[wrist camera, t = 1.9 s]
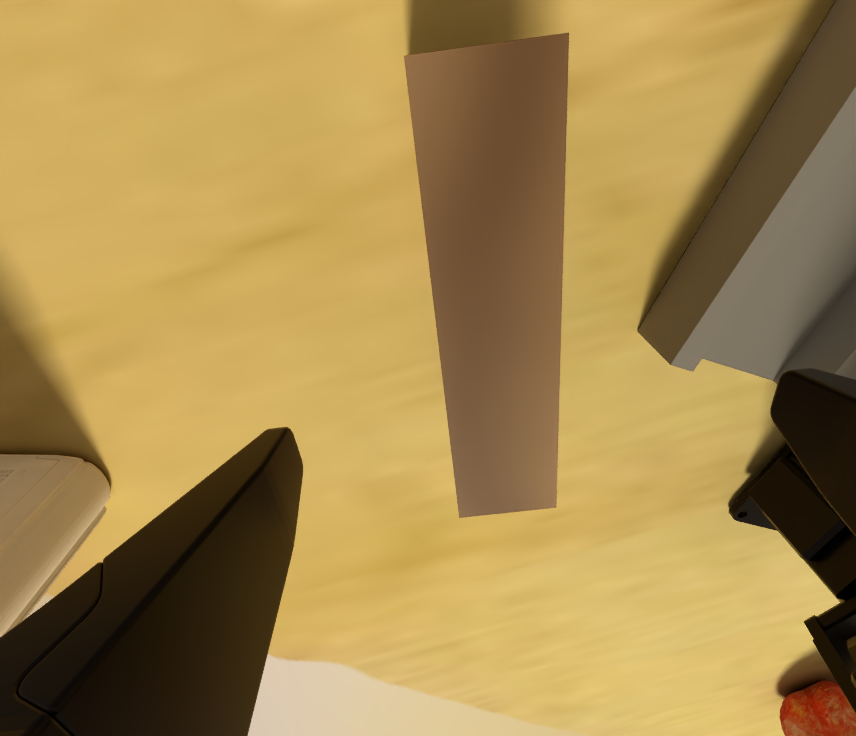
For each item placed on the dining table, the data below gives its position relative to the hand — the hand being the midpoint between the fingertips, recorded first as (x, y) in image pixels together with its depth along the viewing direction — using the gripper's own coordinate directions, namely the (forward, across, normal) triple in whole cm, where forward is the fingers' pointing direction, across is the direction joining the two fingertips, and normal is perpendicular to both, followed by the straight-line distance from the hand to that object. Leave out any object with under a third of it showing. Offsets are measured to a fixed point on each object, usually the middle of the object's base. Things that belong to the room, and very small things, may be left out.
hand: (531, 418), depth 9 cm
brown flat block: (+11, 0, 0) cm, 11 cm away
